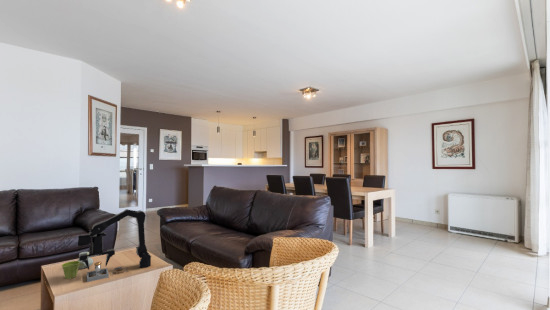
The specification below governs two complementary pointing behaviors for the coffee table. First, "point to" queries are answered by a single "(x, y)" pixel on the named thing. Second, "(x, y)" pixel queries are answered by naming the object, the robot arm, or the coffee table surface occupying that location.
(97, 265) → the lock pin
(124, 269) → the tensioner block
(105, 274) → the tray
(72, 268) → the plant pot
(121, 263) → the coffee table surface
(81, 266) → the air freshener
